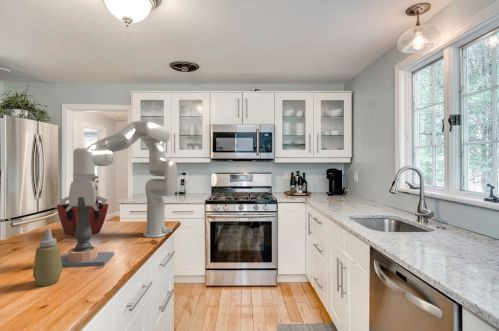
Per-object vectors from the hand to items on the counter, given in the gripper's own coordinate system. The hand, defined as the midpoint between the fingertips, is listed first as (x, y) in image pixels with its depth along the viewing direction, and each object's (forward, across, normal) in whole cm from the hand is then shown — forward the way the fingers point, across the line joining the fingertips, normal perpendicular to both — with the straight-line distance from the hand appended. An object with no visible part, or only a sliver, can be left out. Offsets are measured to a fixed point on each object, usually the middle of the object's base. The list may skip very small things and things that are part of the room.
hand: (83, 220), depth 112 cm
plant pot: (+17, +18, -45) cm, 51 cm away
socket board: (+17, 0, 0) cm, 17 cm away
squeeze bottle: (+17, +3, +20) cm, 26 cm away
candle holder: (+16, 0, 0) cm, 16 cm away
